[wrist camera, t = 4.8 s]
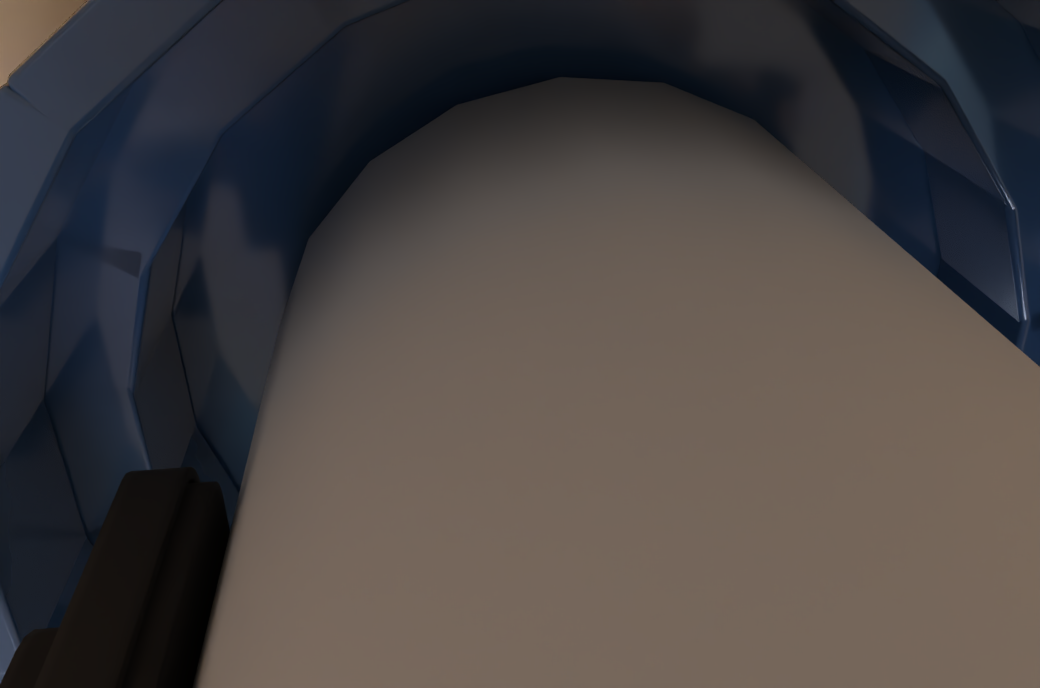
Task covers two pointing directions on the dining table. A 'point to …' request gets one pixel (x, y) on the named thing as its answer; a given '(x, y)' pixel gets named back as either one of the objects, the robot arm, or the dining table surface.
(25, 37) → the dining table surface
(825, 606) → the can
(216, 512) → the robot arm
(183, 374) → the bowl
